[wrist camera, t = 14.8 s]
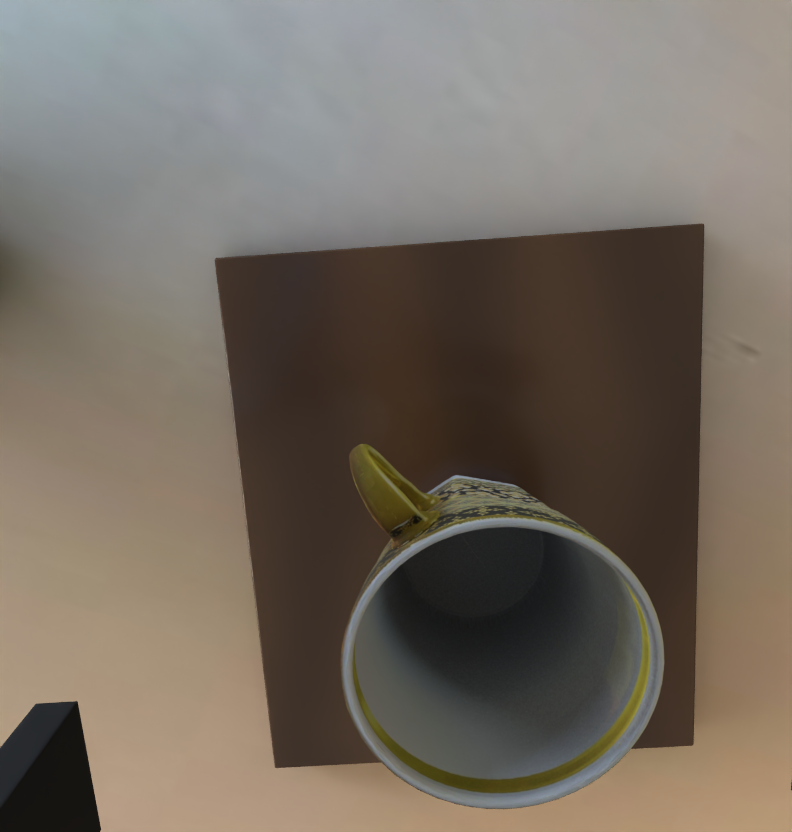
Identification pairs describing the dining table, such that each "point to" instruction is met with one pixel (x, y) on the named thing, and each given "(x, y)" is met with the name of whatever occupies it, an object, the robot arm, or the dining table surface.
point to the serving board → (462, 428)
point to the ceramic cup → (494, 643)
